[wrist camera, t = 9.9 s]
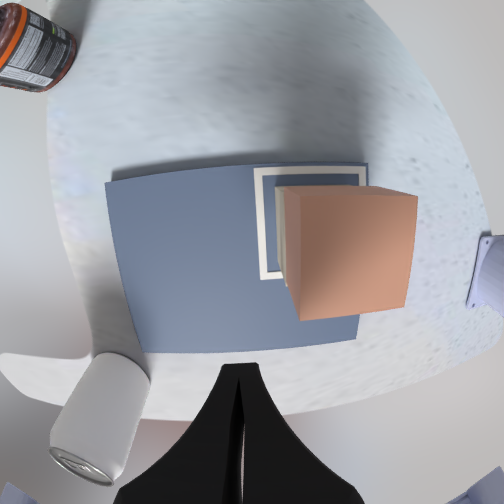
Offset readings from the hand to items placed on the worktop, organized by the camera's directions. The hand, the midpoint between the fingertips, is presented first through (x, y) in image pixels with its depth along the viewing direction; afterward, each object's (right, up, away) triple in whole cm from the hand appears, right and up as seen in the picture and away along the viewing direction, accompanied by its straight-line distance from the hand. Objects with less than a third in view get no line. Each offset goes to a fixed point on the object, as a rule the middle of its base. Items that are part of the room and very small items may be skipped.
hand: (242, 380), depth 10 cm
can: (-13, -7, +13) cm, 20 cm away
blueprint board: (0, +4, +10) cm, 10 cm away
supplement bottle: (-17, +21, +4) cm, 27 cm away
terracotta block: (+5, +6, +4) cm, 9 cm away
